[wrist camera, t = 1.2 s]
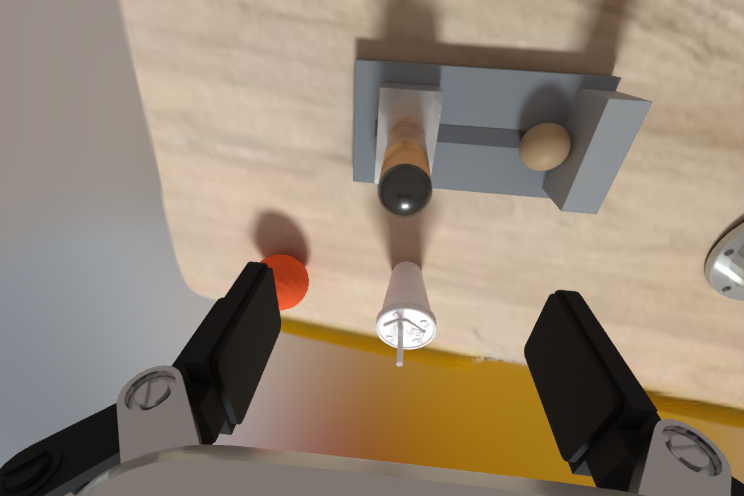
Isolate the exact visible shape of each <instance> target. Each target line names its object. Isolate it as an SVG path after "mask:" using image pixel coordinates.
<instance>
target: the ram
mask: <svg viewBox="0 0 744 496" xmlns="http://www.w3.org/2000/svg"><path fill="white" fill-rule="evenodd" d="M443 98H444V91H443V89H442V87H441V86H431V85H416V84H402V83H388V82H383V83H382V85H381V87H380V95H379V112H378V129H377V146H376V163H375V181H374V184H378V197H379V200H380V202H381V204H382V206H383V207H384V208H385V209H386V210H387V211H388V212H389V213H391V214H393V215H395V216H398V217H411V216H414V215H416V214H418V213H420V212H421V211H423V210H424V209H425V208H426V206H427V205H428V203H429V202H430V199H431V196H432V181H431V173H432V166H433V160H434V154H435V148H436V141H437V135H438V129H439V123H440V117H441V110H442V104H443Z"/></svg>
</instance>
